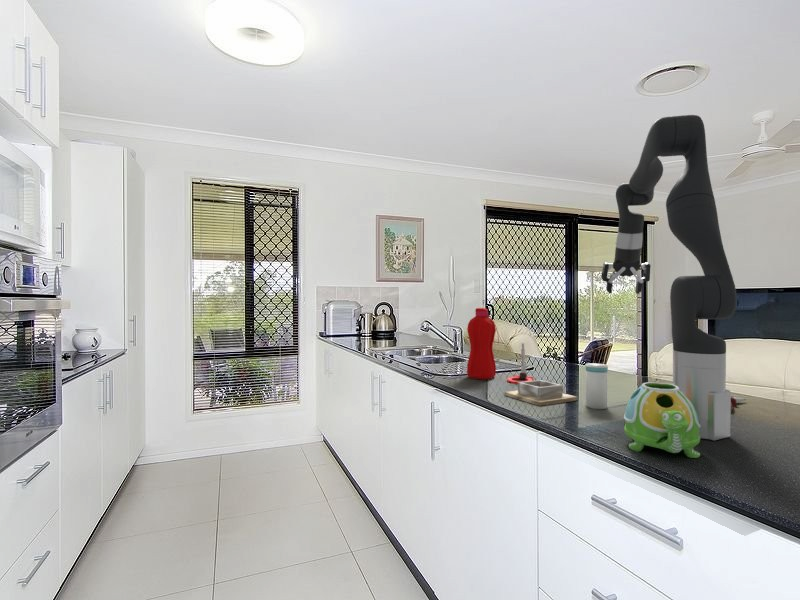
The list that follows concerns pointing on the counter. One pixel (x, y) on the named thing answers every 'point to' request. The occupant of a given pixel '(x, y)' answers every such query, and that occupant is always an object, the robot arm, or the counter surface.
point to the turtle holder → (662, 419)
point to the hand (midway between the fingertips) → (623, 292)
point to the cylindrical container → (596, 385)
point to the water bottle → (481, 346)
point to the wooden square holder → (540, 393)
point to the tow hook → (523, 370)
